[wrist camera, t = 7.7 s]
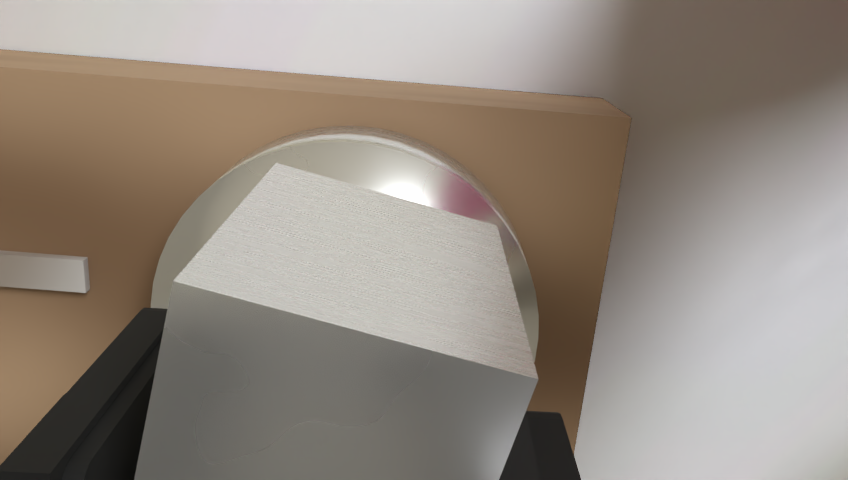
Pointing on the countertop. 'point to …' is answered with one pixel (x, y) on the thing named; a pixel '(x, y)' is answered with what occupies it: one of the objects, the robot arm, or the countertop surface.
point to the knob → (341, 319)
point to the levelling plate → (221, 149)
